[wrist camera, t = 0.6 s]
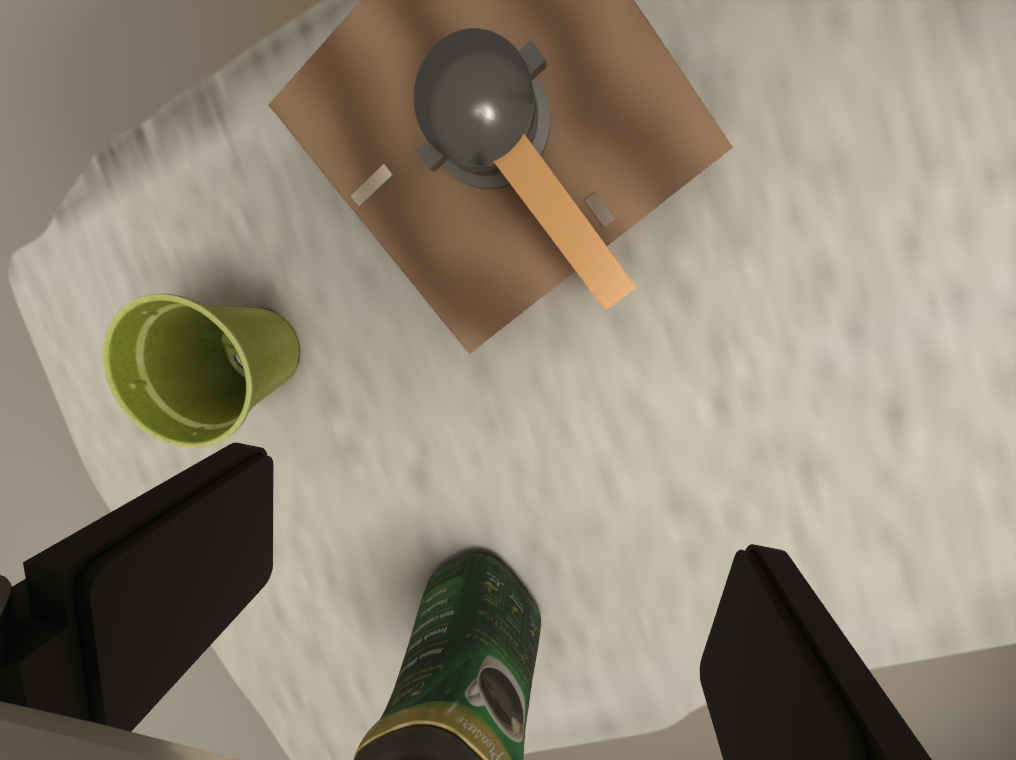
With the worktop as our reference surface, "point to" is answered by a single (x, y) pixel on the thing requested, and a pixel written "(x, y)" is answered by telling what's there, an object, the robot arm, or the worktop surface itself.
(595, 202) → the wooden cutting board
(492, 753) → the coffee jar
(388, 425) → the worktop surface
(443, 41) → the portafilter
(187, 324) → the plant pot
